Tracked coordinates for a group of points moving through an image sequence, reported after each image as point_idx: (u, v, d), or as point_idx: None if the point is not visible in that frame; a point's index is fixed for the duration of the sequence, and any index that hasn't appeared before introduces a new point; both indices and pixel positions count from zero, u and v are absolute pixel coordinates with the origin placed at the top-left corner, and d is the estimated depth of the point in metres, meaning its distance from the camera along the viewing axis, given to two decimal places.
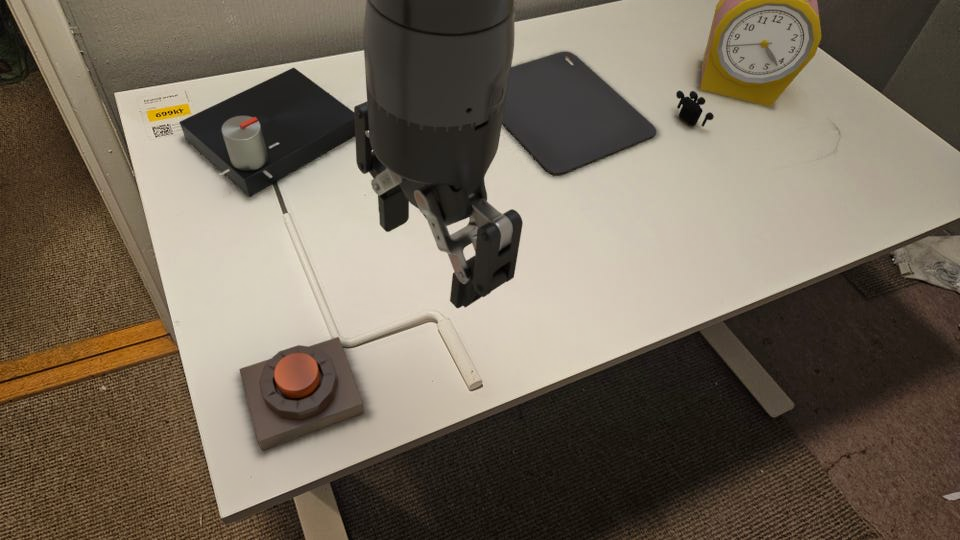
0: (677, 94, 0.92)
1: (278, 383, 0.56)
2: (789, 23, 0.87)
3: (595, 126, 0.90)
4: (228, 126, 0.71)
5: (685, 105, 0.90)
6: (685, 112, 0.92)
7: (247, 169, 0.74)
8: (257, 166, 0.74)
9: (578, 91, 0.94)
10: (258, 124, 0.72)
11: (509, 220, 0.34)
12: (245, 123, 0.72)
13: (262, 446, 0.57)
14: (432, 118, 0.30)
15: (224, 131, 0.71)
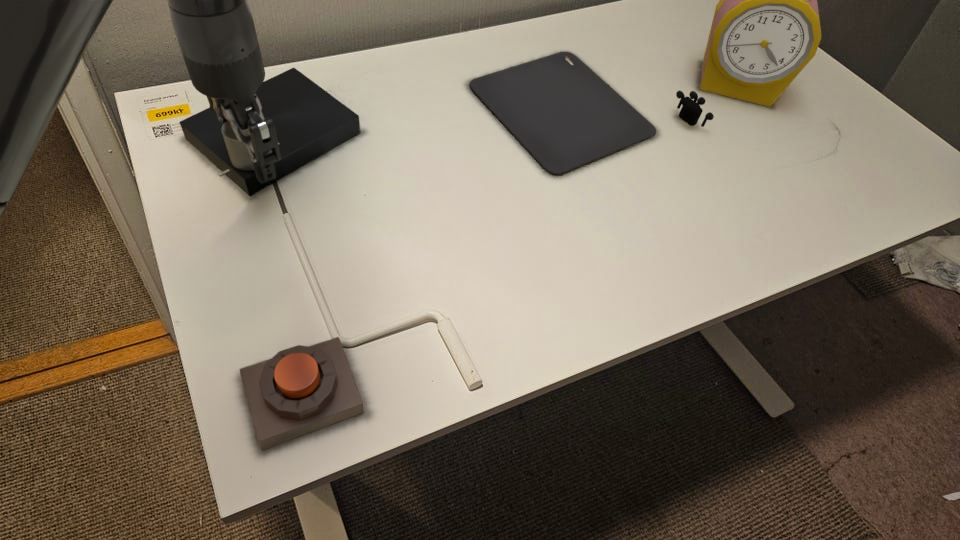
0: (677, 94, 0.92)
1: (278, 383, 0.56)
2: (789, 23, 0.87)
3: (595, 126, 0.90)
4: None
5: (685, 105, 0.90)
6: (685, 112, 0.92)
7: None
8: None
9: (578, 91, 0.94)
10: None
11: None
12: None
13: (262, 446, 0.57)
14: None
15: None
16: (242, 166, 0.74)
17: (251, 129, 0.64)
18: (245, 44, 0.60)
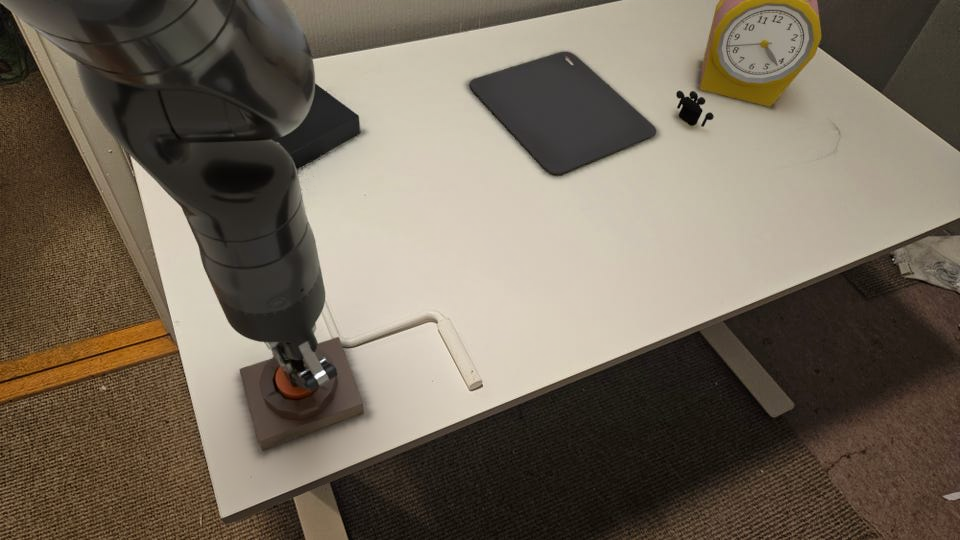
0: (677, 94, 0.92)
1: (279, 387, 0.57)
2: (789, 23, 0.87)
3: (595, 126, 0.90)
4: None
5: (685, 105, 0.90)
6: (685, 112, 0.92)
7: None
8: None
9: (578, 91, 0.94)
10: None
11: None
12: None
13: (262, 446, 0.57)
14: None
15: None
16: None
17: (309, 388, 0.47)
18: (306, 282, 0.42)
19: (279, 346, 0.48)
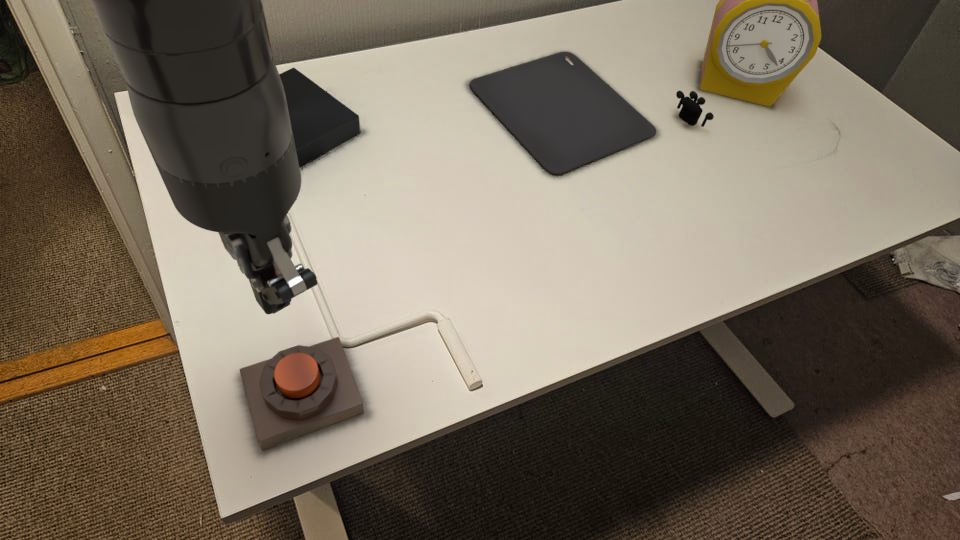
0: (677, 94, 0.92)
1: (278, 383, 0.56)
2: (789, 23, 0.87)
3: (595, 126, 0.90)
4: None
5: (685, 105, 0.90)
6: (685, 112, 0.92)
7: None
8: None
9: (578, 91, 0.94)
10: None
11: None
12: None
13: (262, 446, 0.57)
14: None
15: None
16: None
17: (281, 297, 0.37)
18: (272, 144, 0.32)
19: (244, 247, 0.38)
